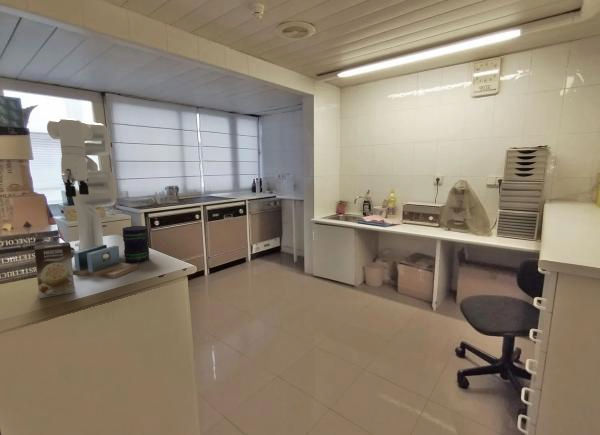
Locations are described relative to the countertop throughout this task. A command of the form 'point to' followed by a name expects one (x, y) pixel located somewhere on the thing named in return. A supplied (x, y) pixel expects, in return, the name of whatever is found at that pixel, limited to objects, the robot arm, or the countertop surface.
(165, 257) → the countertop surface
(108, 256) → the shaft
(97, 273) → the base plate
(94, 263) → the bearing blocks
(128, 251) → the storage jar
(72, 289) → the coffee box
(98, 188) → the robot arm
